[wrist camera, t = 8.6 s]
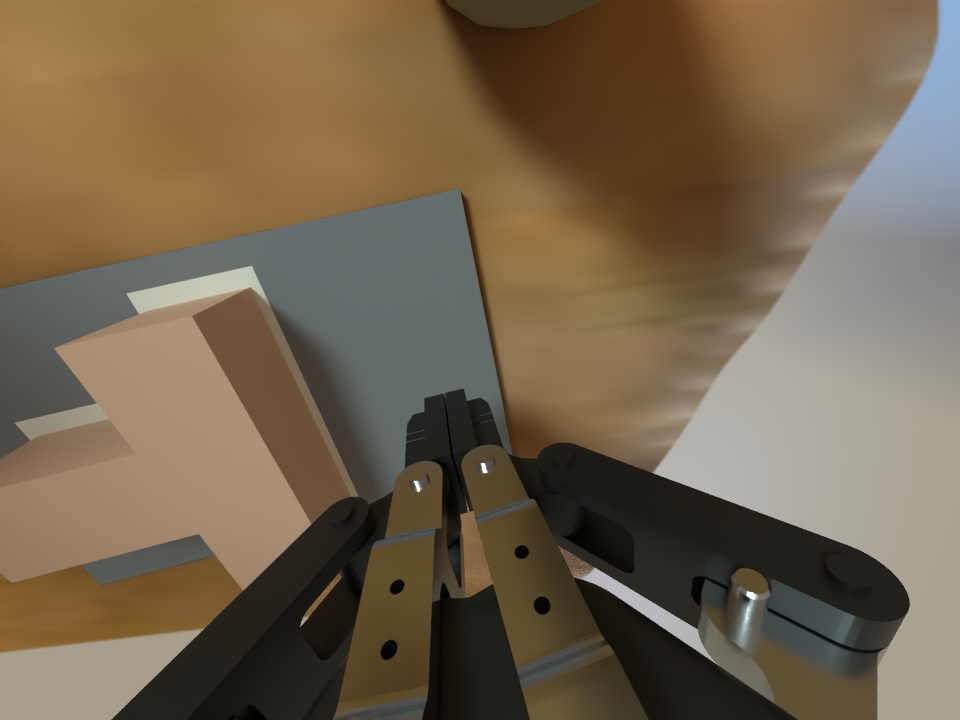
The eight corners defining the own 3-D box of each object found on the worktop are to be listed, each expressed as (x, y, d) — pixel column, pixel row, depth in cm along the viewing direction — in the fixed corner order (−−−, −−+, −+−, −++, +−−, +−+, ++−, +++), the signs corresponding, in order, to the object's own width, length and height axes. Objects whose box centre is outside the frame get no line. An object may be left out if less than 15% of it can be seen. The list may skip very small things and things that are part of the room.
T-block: (-37, 353, 14) (-201, 407, 10) (250, 287, 14) (192, 316, 11) (147, 556, 19) (82, 641, 15) (354, 502, 19) (338, 571, 16)
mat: (-147, 320, 13) (-168, 324, 13) (458, 188, 14) (459, 188, 14) (108, 576, 20) (101, 585, 19) (515, 470, 21) (517, 476, 20)
